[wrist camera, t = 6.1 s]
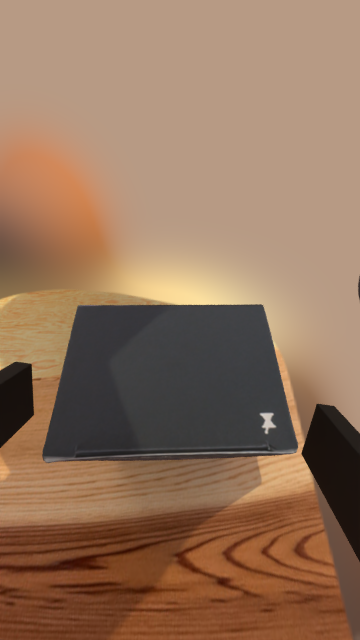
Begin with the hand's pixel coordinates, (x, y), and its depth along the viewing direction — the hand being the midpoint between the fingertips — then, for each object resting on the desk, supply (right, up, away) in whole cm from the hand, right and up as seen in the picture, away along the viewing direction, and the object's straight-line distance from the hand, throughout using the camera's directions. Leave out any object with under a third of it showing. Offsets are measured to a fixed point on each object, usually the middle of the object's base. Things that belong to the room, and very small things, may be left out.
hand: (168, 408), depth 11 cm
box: (0, -3, +7) cm, 7 cm away
